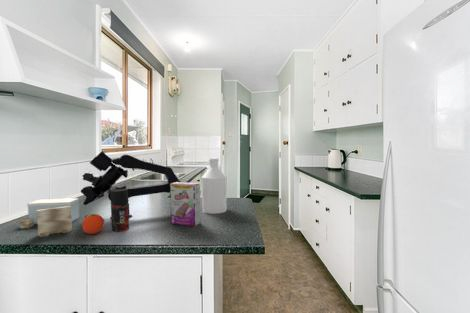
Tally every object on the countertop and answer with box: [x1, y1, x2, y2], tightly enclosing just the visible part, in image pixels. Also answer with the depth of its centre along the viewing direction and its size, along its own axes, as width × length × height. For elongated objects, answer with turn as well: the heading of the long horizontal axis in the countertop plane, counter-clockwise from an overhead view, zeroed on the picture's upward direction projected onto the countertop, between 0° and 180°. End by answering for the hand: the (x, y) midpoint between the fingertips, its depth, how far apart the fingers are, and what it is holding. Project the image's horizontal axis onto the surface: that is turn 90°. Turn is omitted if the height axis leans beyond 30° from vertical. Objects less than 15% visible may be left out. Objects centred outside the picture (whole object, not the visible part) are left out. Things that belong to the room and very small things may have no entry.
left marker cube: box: [19, 217, 35, 229], centre depth 99 cm, size 3×3×3 cm
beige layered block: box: [37, 206, 73, 238], centre depth 92 cm, size 10×5×9 cm, turn 126°
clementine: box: [81, 213, 105, 235], centre depth 91 cm, size 8×7×7 cm
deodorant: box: [110, 188, 130, 233], centre depth 95 cm, size 6×6×15 cm
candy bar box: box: [169, 181, 201, 227], centre depth 101 cm, size 11×5×16 cm, turn 71°
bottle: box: [201, 157, 228, 215], centre depth 120 cm, size 12×12×25 cm
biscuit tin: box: [27, 197, 80, 225], centre depth 107 cm, size 16×7×9 cm, turn 97°
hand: (84, 204), depth 108 cm, fingers closed
